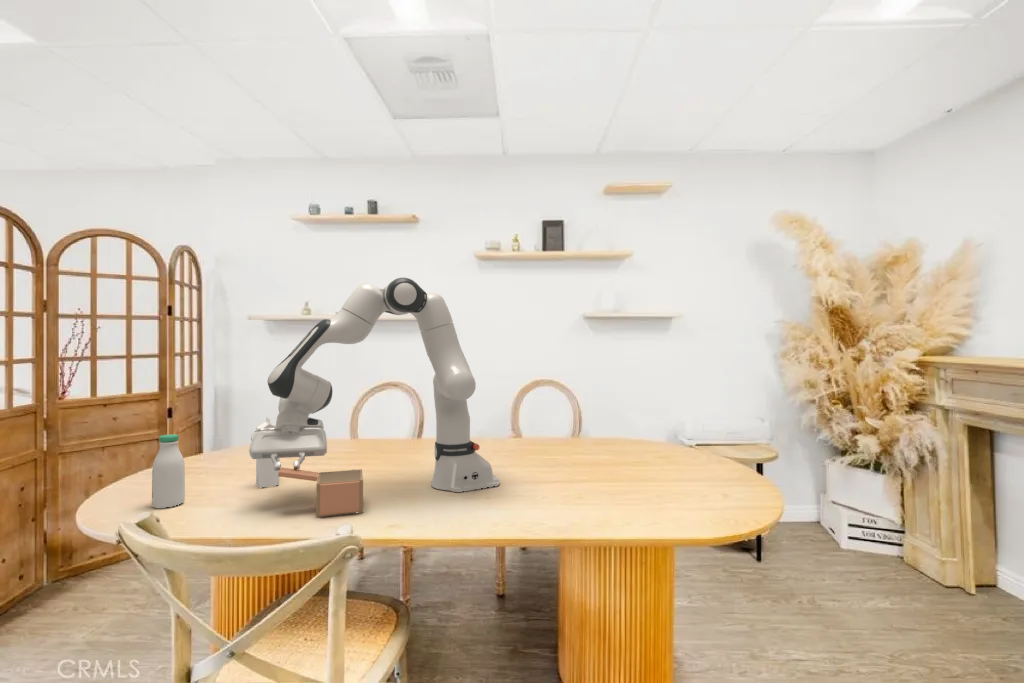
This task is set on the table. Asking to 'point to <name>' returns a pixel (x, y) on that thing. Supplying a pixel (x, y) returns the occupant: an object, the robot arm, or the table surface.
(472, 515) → the table surface
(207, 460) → the table surface
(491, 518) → the table surface
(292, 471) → the flap
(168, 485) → the milk bottle
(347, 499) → the carton
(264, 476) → the milk
